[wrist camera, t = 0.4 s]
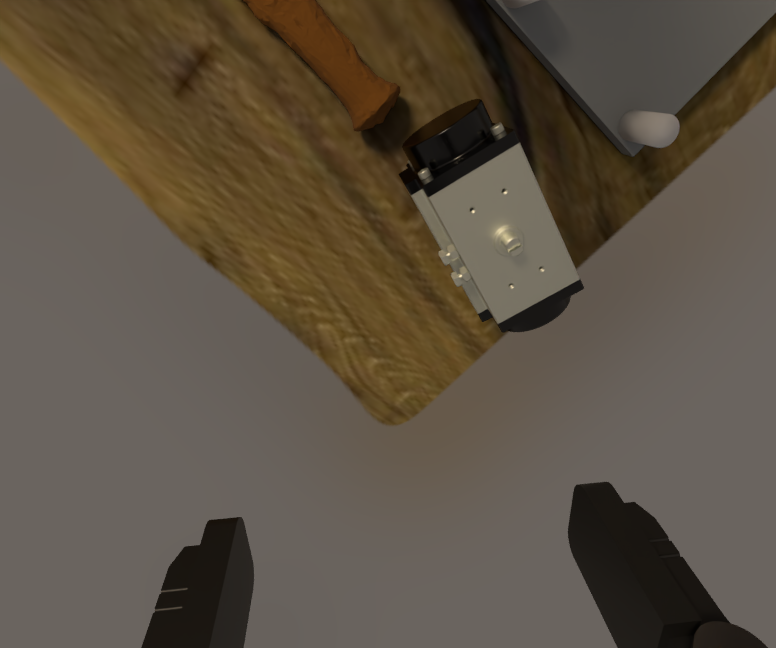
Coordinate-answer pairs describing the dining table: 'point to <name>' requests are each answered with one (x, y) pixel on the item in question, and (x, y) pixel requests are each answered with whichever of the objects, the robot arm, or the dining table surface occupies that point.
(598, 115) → the peg board
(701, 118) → the dining table surface
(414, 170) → the pneumatic valve
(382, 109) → the primitive tool
